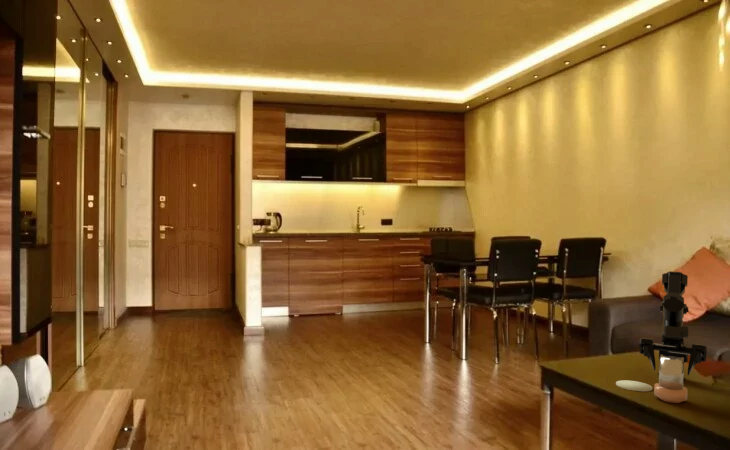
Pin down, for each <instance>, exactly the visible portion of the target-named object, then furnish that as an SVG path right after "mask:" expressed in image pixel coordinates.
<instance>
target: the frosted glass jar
mask: <svg viewBox="0 0 730 450" xmlns="http://www.w3.org/2000/svg"><path fill="white" fill-rule="evenodd" d="M682 358H683V357H682ZM682 358H679V357H674V356H663V355H661V356H660V360H659V366H658V367H659V368H658V369H659V370H658V373H659V375H658V383H659V386H660V387H662V388H665V389H670V390H683V387H684V379H683V377H684V370H685V369H684V367H685V365H684V364H685V363H684V359H682Z"/></svg>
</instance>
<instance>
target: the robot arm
mask: <svg viewBox="0 0 730 450" xmlns="http://www.w3.org/2000/svg"><path fill="white" fill-rule="evenodd" d="M688 277H689V276H688V275H686V274H684V273H683V272H681V271H667V272H665V273H662V276H661V285H662V286H663V291H664V293H665V295H664V296H663V297H662V298H663V300H662V301H660V307H659V309H660V313H662V333H661V342H659V343H657V342H656V343H655V342H654V338H646V337H641V338H640V339H639V342H638V346H639V347H638V349H639V354H641V355H643V356H644V357H647V359H648V360H649V362H650V363H651V367H652V368H653V371H656V367H657V366H656V356H655V351H658V360H659V361H660V356H674V357H679V358H682V359H684V364H685V363H688V365H687V366H688V367H687V376H690V374H691V373H692V371H693V369H694V368H695V366H696V365H697V364H701V363H703V362H706V361H707V355H708V354H707V351H708V350H707V346H706V345H705V344H701V343H700V344H699V343H691V347H687V345H685V344H684V343H685V339H684V338H686V339H688V338H689V326H684V325H683V324H684V321H683V318H684V315H687V314H688V313H689V307H688V305H687V303H685V297H684V294H685V293H686V287H687V288H688V279H689V278H688ZM688 357H689V359H688ZM688 360H689V361H688ZM657 375H658V376H659V372H658V373H657ZM683 380H686V377H685V376H683Z"/></svg>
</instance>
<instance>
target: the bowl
mask: <svg viewBox="0 0 730 450" xmlns="http://www.w3.org/2000/svg"><path fill="white" fill-rule="evenodd" d="M653 387H654V390H653V391H654V392H653V394H654V395H653V396H655V397H657V398H659V400H661V401H663V402H665V403H666V402H667V403H672V404H680V403H682V402H685V401H687V400H688V388H687V387H686V386H683V390H670V389H665V388H662V387H660V386H659V382H657V383H654V386H653Z"/></svg>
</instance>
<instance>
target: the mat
mask: <svg viewBox="0 0 730 450" xmlns="http://www.w3.org/2000/svg"><path fill="white" fill-rule="evenodd" d="M615 385H616V387H619V388H621V389H624V390H628V391H632V392H645V393H646V392H651V391H653V386H652V385H650V384H648V383H645V382H641V381H637V380H627V379H626V380H625V379H624V380H622V379H621V380H617V381H615Z"/></svg>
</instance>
